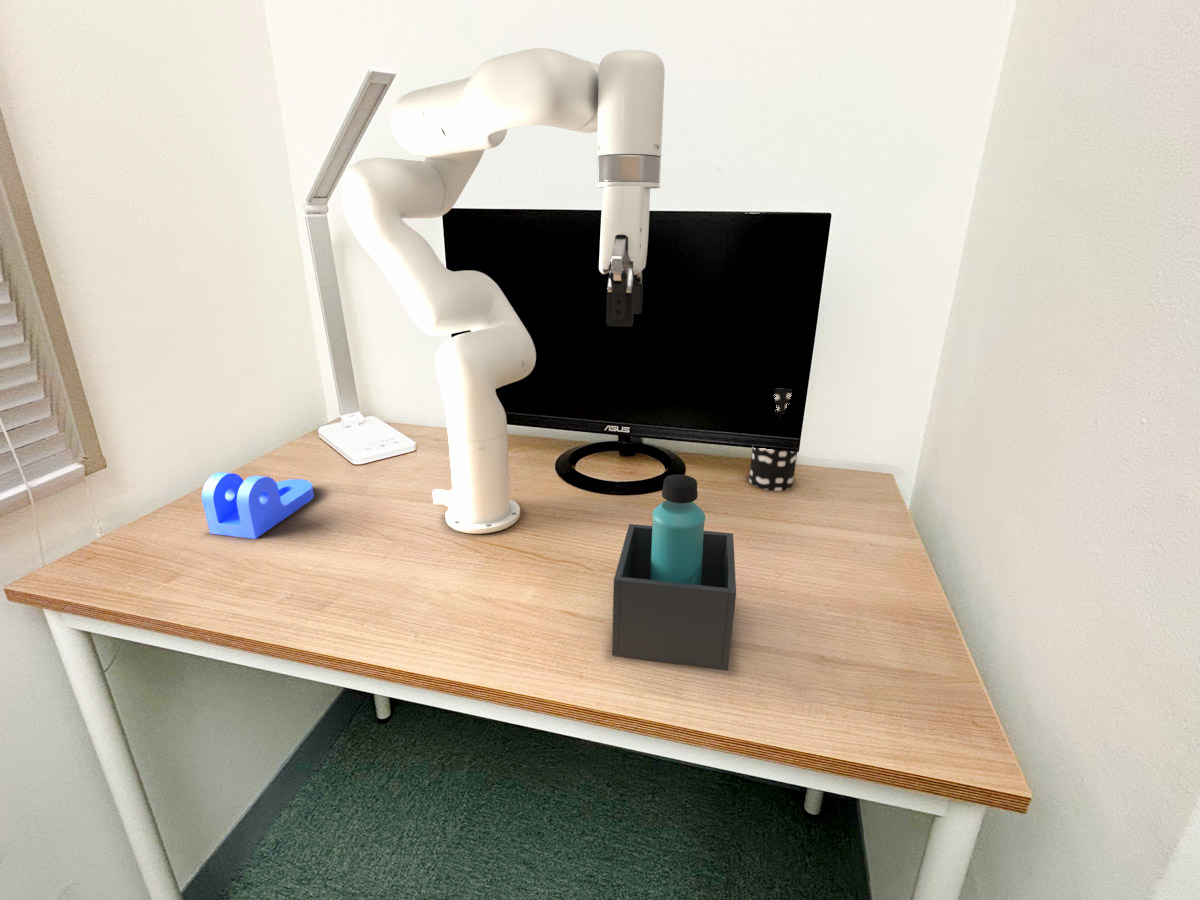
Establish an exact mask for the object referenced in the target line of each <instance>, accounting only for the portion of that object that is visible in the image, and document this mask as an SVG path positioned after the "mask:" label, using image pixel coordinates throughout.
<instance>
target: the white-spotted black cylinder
mask: <svg viewBox="0 0 1200 900" xmlns="http://www.w3.org/2000/svg"><path fill="white" fill-rule="evenodd" d="M775 389H776V390H775ZM775 389H774V390H775V391H776V392H775V391H774V392H775V394H774V395H775V396H776V397H775V396H774V395H773V396H774V397H775V398H774V399H775V404H776V408H777V409H776V410H777V413H778V412H779V413H780V412H781V413H780V414H782V415H783V414H784V413H785V412H786V411H785V410H786V408H787V404H788V403H789V402H790V401H789V400H790V399H791V398H790V397H791V396H792V395H791V394H792V392H791V391H792V389H786V388H785V389H784V388H775ZM790 392H791V393H790ZM788 401H789V402H788ZM777 404H778V405H777ZM789 404H790V403H789ZM789 404H788V405H789ZM777 406H778V407H777ZM776 410H775V411H776ZM784 411H785V412H784ZM775 413H776V412H775ZM779 413H778V414H779ZM778 416H779V415H778ZM780 416H781V415H780ZM780 418H781V417H780ZM797 456H798V451H797V452H792V451H784V450H773V449H766V448H754V447H753V446H752V448H751V457H750V467H749V475H748V476H749V477H748V481H749V483H750V484H752V486H754V487H757V488H759V489H761V490H766V491H776V492H781V491H786V490H789V489H791V488H792V487H793V485H794V478H795V471H796V463H797V458H798V457H797Z"/></svg>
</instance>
